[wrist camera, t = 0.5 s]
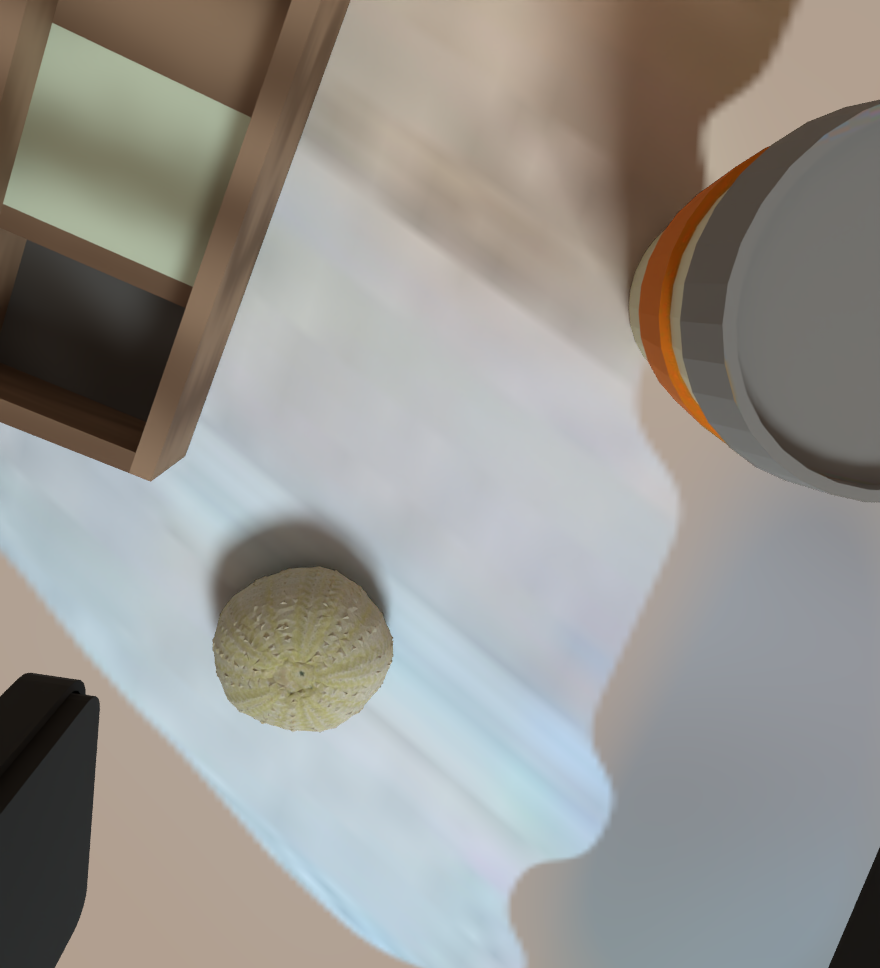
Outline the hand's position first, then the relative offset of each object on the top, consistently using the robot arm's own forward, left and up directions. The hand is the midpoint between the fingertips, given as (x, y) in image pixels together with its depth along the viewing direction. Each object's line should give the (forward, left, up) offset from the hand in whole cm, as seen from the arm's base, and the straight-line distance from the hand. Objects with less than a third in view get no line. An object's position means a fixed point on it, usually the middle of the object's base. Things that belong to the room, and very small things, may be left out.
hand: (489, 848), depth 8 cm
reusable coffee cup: (-11, +11, -30) cm, 34 cm away
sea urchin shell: (+14, -1, -30) cm, 33 cm away
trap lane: (-11, -16, -30) cm, 35 cm away
